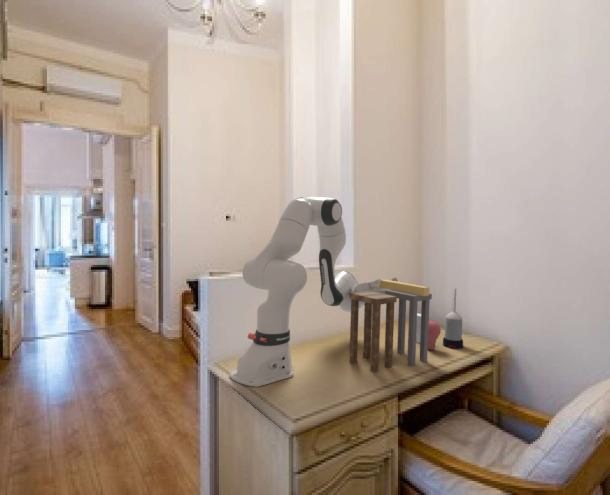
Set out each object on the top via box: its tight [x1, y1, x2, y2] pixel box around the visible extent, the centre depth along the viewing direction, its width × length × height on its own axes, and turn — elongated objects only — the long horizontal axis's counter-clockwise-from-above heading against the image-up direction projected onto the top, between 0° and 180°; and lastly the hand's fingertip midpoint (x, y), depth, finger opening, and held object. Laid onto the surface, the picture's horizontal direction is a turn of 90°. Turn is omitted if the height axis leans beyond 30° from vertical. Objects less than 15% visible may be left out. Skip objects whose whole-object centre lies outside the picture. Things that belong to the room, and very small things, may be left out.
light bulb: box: [428, 320, 442, 351], centre depth 161 cm, size 7×7×12 cm
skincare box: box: [416, 312, 421, 344], centre depth 173 cm, size 6×4×12 cm
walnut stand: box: [349, 291, 398, 374], centre depth 142 cm, size 14×10×26 cm
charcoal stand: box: [385, 290, 433, 367], centre depth 149 cm, size 14×10×26 cm
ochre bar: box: [379, 279, 430, 296], centre depth 150 cm, size 22×3×3 cm, turn 35°
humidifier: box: [442, 288, 464, 350], centre depth 167 cm, size 8×8×25 cm
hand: (388, 280), depth 157 cm, fingers open, 8 cm apart
